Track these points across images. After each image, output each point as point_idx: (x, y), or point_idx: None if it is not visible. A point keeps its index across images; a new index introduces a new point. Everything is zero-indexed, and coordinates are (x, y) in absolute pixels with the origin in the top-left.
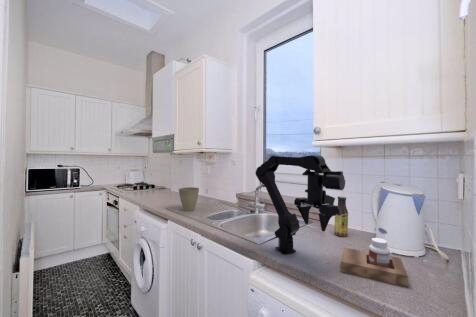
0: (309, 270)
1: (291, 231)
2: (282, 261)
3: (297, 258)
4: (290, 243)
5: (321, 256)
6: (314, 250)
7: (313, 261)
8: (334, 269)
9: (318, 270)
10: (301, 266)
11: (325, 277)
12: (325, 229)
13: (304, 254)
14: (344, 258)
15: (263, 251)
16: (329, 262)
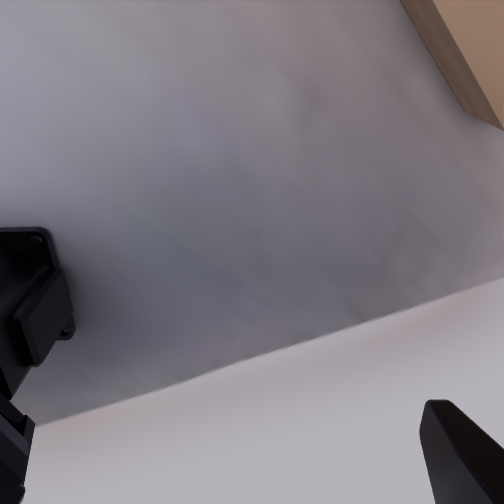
0: (335, 306)
1: (18, 472)
2: (171, 380)
3: (158, 279)
4: (38, 341)
5: (180, 60)
6: (33, 26)
7: (240, 200)
8: (414, 135)
9: (363, 256)
10: (271, 319)
11: (450, 273)
12: (472, 422)
13: (104, 187)
14: (490, 33)
15: None
16: (307, 80)
